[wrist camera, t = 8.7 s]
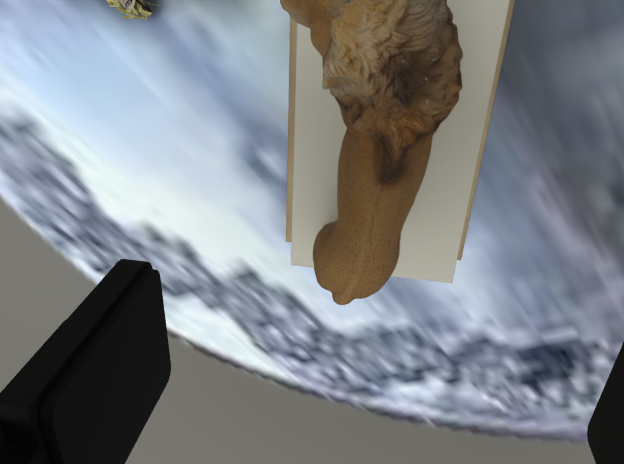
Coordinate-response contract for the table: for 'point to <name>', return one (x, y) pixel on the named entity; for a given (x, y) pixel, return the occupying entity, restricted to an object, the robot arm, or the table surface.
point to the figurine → (131, 8)
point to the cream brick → (442, 162)
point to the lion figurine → (379, 124)
